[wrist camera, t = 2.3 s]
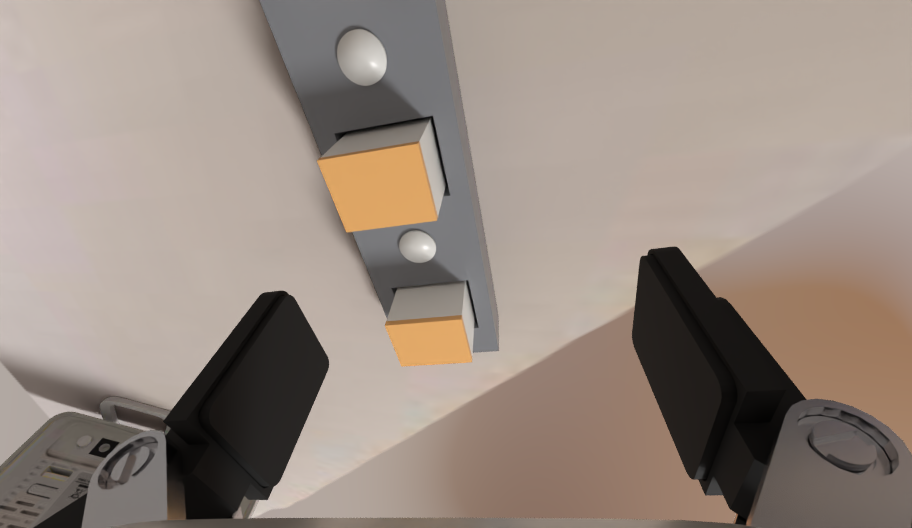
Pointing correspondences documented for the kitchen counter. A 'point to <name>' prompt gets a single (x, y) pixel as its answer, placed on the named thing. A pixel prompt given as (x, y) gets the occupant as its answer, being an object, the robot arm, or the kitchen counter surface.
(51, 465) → the network device
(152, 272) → the kitchen counter surface
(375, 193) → the middle switch
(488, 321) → the power strip
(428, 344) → the switch
